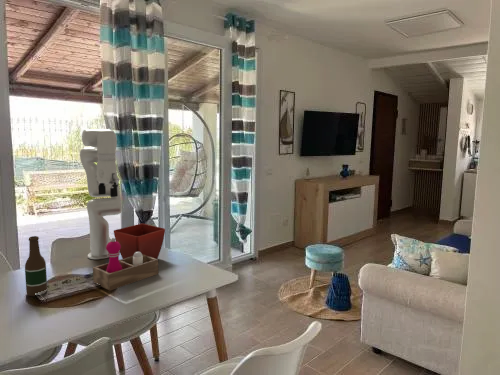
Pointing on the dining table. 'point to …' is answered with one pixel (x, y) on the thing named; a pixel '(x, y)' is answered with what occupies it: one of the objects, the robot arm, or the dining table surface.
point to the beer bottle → (35, 269)
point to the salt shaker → (137, 258)
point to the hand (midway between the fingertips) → (108, 195)
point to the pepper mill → (113, 256)
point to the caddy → (125, 272)
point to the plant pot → (140, 240)
